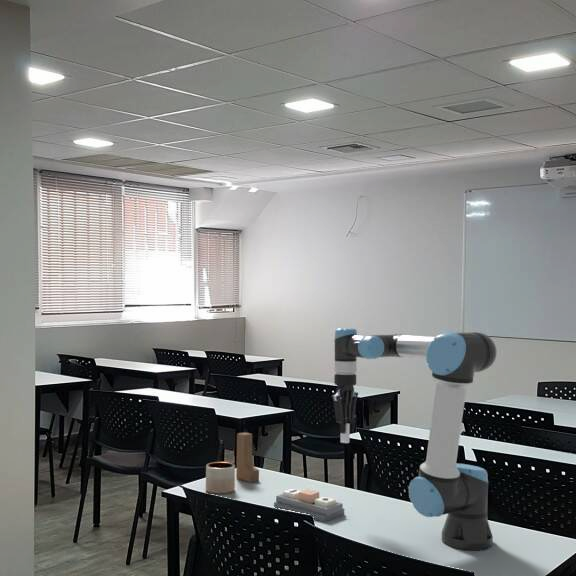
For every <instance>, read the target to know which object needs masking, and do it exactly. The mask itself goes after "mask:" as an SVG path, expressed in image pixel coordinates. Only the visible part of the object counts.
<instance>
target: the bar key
mask: <svg viewBox="0 0 576 576" xmlns="http://www.w3.org/2000/svg"><path fill="white" fill-rule="evenodd" d="M301 491H302V490H299V489H295V488H291V489H287V490H284V491H283V493H282V494H283V497H287V498H291V499H295V500H299V492H301Z"/></svg>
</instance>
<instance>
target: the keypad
mask: <svg viewBox="0 0 576 576" xmlns="http://www.w3.org/2000/svg"><path fill="white" fill-rule="evenodd" d="M275 497H276V498H275V501H274V502H273V508H274V507H275V508H280V509H285V510H291V511H295V512H300V513H306V514H310V515H312V516H313V517H314V519H313V520H315V521H319V522H322V523H327V522H330V521H331V520H334V519H336V518H340V517H341V516H344V515H345V508H343V506H344V505H343V503H341V502H337V501H336V505H334V506H331V507H328V508H325V507H322V506H318V505H315V502H314V503H311V504H310V503H306V502H302V501H299V500H295V499H291V498H287V497H283V493H282V494H278V495H276V496H275ZM275 508H274V509H275Z"/></svg>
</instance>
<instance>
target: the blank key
mask: <svg viewBox="0 0 576 576" xmlns="http://www.w3.org/2000/svg"><path fill="white" fill-rule="evenodd" d="M300 491H301V492H299V501H302V502H306V503H310V504H311V503H314V502H315V499H318V498H320V492H319V491H315V490H313V489H304V490H300Z"/></svg>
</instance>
